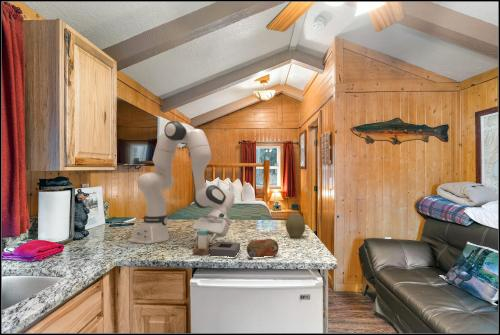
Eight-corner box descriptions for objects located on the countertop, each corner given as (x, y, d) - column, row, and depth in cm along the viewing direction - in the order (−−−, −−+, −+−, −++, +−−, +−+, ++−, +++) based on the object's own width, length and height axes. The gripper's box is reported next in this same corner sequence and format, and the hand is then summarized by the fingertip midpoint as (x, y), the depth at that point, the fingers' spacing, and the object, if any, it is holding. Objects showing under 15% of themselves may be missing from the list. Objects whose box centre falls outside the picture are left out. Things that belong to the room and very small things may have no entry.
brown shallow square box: (193, 255, 120) (193, 248, 120) (198, 250, 127) (198, 244, 127) (208, 255, 119) (208, 249, 119) (213, 250, 126) (213, 244, 126)
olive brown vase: (287, 239, 146) (287, 213, 146) (284, 235, 157) (284, 210, 157) (307, 239, 146) (307, 213, 147) (302, 234, 158) (302, 210, 158)
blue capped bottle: (198, 254, 121) (198, 231, 121) (200, 251, 125) (200, 229, 125) (206, 254, 121) (206, 231, 121) (208, 251, 125) (208, 229, 125)
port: (209, 257, 116) (209, 248, 116) (216, 249, 128) (216, 241, 128) (235, 259, 115) (235, 250, 115) (240, 250, 126) (240, 242, 126)
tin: (247, 260, 113) (247, 241, 113) (245, 258, 116) (245, 239, 116) (278, 257, 117) (278, 238, 117) (276, 254, 120) (276, 237, 120)
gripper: (198, 212, 135) (184, 234, 127) (228, 215, 123) (215, 240, 115) (204, 219, 138) (191, 241, 130) (234, 223, 127) (221, 247, 119)
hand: (202, 240), depth 123 cm, fingers open, 8 cm apart
